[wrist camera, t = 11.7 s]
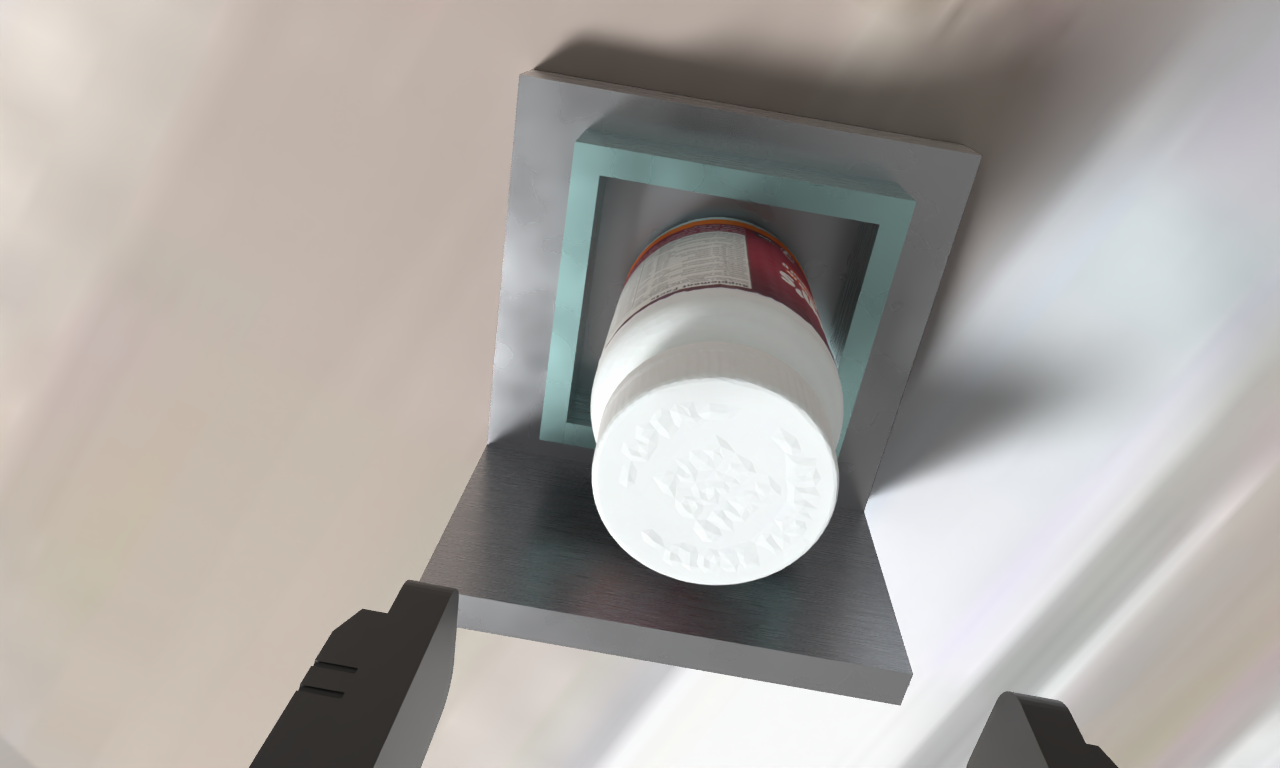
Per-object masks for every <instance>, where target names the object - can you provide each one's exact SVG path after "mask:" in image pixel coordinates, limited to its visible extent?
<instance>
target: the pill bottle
mask: <svg viewBox="0 0 1280 768" xmlns="http://www.w3.org/2000/svg"><path fill="white" fill-rule="evenodd" d="M591 422H592V429H593V433H594V438H595V441H596V448H595V452H594V458H593V464H592V488H593V495H594V500H595V504H596V507H597V510H598V512H599V515H600V517H601V519H602V521H603V523H604V525H605V526H606V528H607V530H608V531H609V533H610V535H611V536H612V537H613V538H614V539H615V541H616V542H617V543H618V544H619V545H620V546H621V547H622V548H623V549H624V550H625V551H626V552H627V553H628V554H629V555H631V556H632V557H633V558H635V559H636V560H638V561H639V562H640V563H642V564H643V565H645V566H647V567H649V568H650V569H652V570H654V571H656V572H659V573H661V574H663V575H666V576H669V577H672V578H675V579H678V580H681V581H685V582H690V583H696V584H705V585H729V584H738V583H744V582H749V581H753V580H756V579H759V578H763V577H766V576H768V575H771V574H773V573H776V572H778V571H780V570H782V569H784V568H785V567H787V566H788V565H790V564H792V563H793V562H794V561H796V560H797V559H798V558H800V557H801V556H802V555H803V554H805V553H806V552H807V551H808V550H809V549H810V548H811V547H812V546H813V545H814V544H815V543H816V541H817V540H818V539H819V537H820V536H821V535H822V533H823V532H824V530H825V528H826V527H827V525H828V523H829V521H830V519H831V517H832V514H833V512H834V509H835V505H836V502H837V496H838V490H839V469H838V462H837V456H836V452H835V450H836V447H837V444H838V441H839V438H840V434H841V430H842V424H843V393H842V387H841V383H840V379H839V375H838V371H837V367H836V364H835V361H834V358H833V355H832V353H831V350H830V348H829V345H828V341H827V339H826V336H825V333H824V331H823V327H822V324H821V320H820V317H819V314H818V311H817V308H816V305H815V301H814V298H813V296H812V293H811V289H810V287H809V284H808V281H807V279H806V276H805V273H804V271H803V269H802V267H801V265H800V264H799V262H798V260H797V259H796V257H795V256H794V254H793V253H792V252H791V251H790V249H789V248H788V247H787V246H786V245H785V244H784V243H783V242H781V241H780V240H779V239H778V238H777V237H775V236H774V235H773V234H771V233H770V232H768V231H767V230H765V229H763V228H761V227H759V226H757V225H754V224H752V223H749V222H746V221H743V220H738V219H734V218H727V217H709V218H702V219H695V220H692V221H688V222H685V223H682V224H680V225H677V226H675V227H673V228H671V229H669V230H667V231H666V232H664V233H663V234H661V235H660V236H658V237H657V238H656V239H655V240H653V241H652V242H651V243H650V244H649V245H648V246H647V247H646V248H645V249H644V250H643V252H642V253H641V254H640V255H639V256H638V258H637V259H636V261H635V263H634V264H633V266H632V268H631V270H630V272H629V274H628V276H627V279H626V281H625V284H624V287H623V289H622V292H621V295H620V298H619V301H618V304H617V307H616V310H615V314H614V317H613V320H612V323H611V326H610V329H609V332H608V335H607V338H606V342H605V345H604V348H603V351H602V354H601V357H600V359H599V363H598V367H597V371H596V374H595V378H594V383H593V388H592V394H591Z"/></svg>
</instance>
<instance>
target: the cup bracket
mask: <svg viewBox="0 0 1280 768" xmlns="http://www.w3.org/2000/svg"><path fill="white" fill-rule="evenodd" d="M981 158H982V155H980V154H978V153H977V152H975V151H973V150H971V149H970V148H968V147H966V146H964V145H961V144H955V143H949V142H944V141H938V140H932V139H927V138H921V137H915V136H910V135H904V134H898V133H892V132H887V131H881V130H875V129H870V128H864V127H858V126H853V125H847V124H841V123H835V122H830V121H824V120H818V119H813V118H807V117H801V116H795V115H790V114H784V113H778V112H773V111H767V110H761V109H756V108H750V107H744V106H738V105H733V104H727V103H721V102H716V101H710V100H704V99H699V98H693V97H687V96H681V95H676V94H670V93H664V92H659V91H653V90H647V89H642V88H636V87H630V86H624V85H619V84H613V83H607V82H602V81H596V80H590V79H585V78H579V77H573V76H567V75H562V74H556V73H550V72H545V71H539V70H533V69H532V70H530V71H527V72H525V73H522V74H520V75H519V85H518V97H517V108H516V120H515V131H514V142H513V154H512V165H511V176H510V188H509V199H508V211H507V222H506V233H505V245H504V256H503V268H502V279H501V290H500V302H499V313H498V324H497V336H496V347H495V359H494V370H493V381H492V393H491V404H490V415H489V427H488V438H487V446H486V448H485V450H484V452H483V454H482V456H481V458H480V460H479V462H478V464H477V466H476V468H475V470H474V472H473V474H472V476H471V478H470V480H469V482H468V484H467V486H466V488H465V490H464V492H463V494H462V496H461V498H460V500H459V502H458V504H457V507H456V509H455V511H454V513H453V515H452V517H451V519H450V521H449V523H448V525H447V527H446V529H445V531H444V533H443V535H442V537H441V539H440V541H439V543H438V545H437V547H436V549H435V551H434V553H433V555H432V557H431V559H430V561H429V563H428V565H427V567H426V569H425V571H424V573H423V575H422V577H421V579H420V581H419V582H424V583H429V584H435V585H440V586H446V587H451V588H457V589H458V591H459V604H458V616H457V627H458V628H464V629H469V630H475V631H481V632H486V633H492V634H498V635H503V636H509V637H515V638H520V639H526V640H532V641H538V642H543V643H549V644H555V645H560V646H566V647H572V648H577V649H583V650H589V651H594V652H600V653H606V654H611V655H617V656H623V657H628V658H634V659H640V660H645V661H651V662H657V663H662V664H668V665H674V666H679V667H685V668H691V669H696V670H702V671H708V672H713V673H719V674H725V675H730V676H736V677H742V678H748V679H753V680H759V681H765V682H770V683H776V684H782V685H787V686H793V687H799V688H804V689H810V690H816V691H821V692H827V693H833V694H838V695H844V696H850V697H855V698H861V699H867V700H872V701H878V702H884V703H889V704H895V705H901V703H902V700H903V698H904V695H905V693H906V690H907V688H908V685H909V683H910V680H911V678H912V676H913V673H912V669H911V666H910V663H909V659H908V656H907V653H906V650H905V646H904V643H903V640H902V636H901V633H900V630H899V626H898V623H897V620H896V616H895V613H894V610H893V607H892V603H891V600H890V597H889V593H888V590H887V587H886V583H885V580H884V577H883V573H882V570H881V567H880V563H879V560H878V557H877V554H876V550H875V547H874V544H873V540H872V537H871V534H870V530H869V527H868V524H867V520H866V517H865V514H864V510H865V507H866V504H867V501H868V498H869V495H870V492H871V489H872V486H873V483H874V480H875V477H876V474H877V471H878V468H879V465H880V462H881V459H882V456H883V453H884V450H885V446H886V443H887V440H888V437H889V434H890V431H891V428H892V425H893V422H894V419H895V416H896V413H897V410H898V407H899V404H900V401H901V398H902V395H903V392H904V389H905V386H906V383H907V380H908V377H909V374H910V371H911V368H912V365H913V362H914V359H915V356H916V353H917V350H918V347H919V344H920V341H921V338H922V335H923V332H924V329H925V326H926V323H927V320H928V317H929V314H930V311H931V308H932V305H933V302H934V299H935V296H936V293H937V290H938V287H939V284H940V281H941V278H942V275H943V272H944V269H945V266H946V263H947V260H948V257H949V254H950V251H951V248H952V245H953V242H954V239H955V236H956V233H957V230H958V227H959V224H960V221H961V218H962V215H963V212H964V209H965V206H966V203H967V200H968V197H969V194H970V191H971V188H972V185H973V182H974V179H975V176H976V173H977V170H978V167H979V164H980V161H981ZM709 217H727V218H734V219H738V220H743V221H746V222H749V223H752V224H754V225H757V226H759V227H761V228H763V229H765V230H767V231H768V232H770V233H771V234H773V235H774V236H775V237H777V238H778V239H779V240H780V241H781V242H783V243H784V244H785V245H786V246H787V247H788V248H789V249H790V251H791V252H792V253H793V254H794V256H795V257H796V259H797V260H798V262H799V264H800V265H801V267H802V269H803V271H804V273H805V276H806V279H807V281H808V284H809V287H810V289H811V293H812V296H813V298H814V301H815V305H816V308H817V311H818V314H819V317H820V320H821V324H822V327H823V331H824V333H825V336H826V339H827V341H828V345H829V348H830V350H831V353H832V355H833V358H834V361H835V364H836V367H837V371H838V375H839V379H840V383H841V387H842V393H843V424H842V430H841V434H840V438H839V441H838V444H837V447H836V450H835V452H836V456H837V462H838V469H839V490H838V496H837V502H836V505H835V509H834V512H833V514H832V517H831V519H830V521H829V523H828V525H827V527H826V528H825V530H824V532H823V533H822V535H821V536H820V537H819V539H818V540H817V541H816V543H815V544H814V545H813V546H812V547H811V548H810V549H809V550H808V551H807V552H806V553H805V554H803V555H802V556H801V557H800V558H798V559H797V560H796V561H794V562H793V563H792V564H790V565H788V566H787V567H785V568H784V569H782V570H780V571H778V572H776V573H773V574H771V575H768V576H766V577H763V578H759V579H756V580H753V581H749V582H744V583H738V584H729V585H705V584H696V583H690V582H685V581H681V580H678V579H675V578H672V577H669V576H666V575H663V574H661V573H659V572H656V571H654V570H652V569H650V568H649V567H647V566H645V565H643V564H642V563H640V562H639V561H638V560H636V559H635V558H633V557H632V556H631V555H629V554H628V553H627V552H626V551H625V550H624V549H623V548H622V547H621V546H620V545H619V544H618V543H617V542H616V541H615V539H614V538H613V537H612V536H611V535H610V533H609V531H608V530H607V528H606V526H605V525H604V523H603V521H602V519H601V517H600V515H599V512H598V510H597V507H596V504H595V500H594V495H593V488H592V464H593V458H594V452H595V448H596V441H595V438H594V433H593V429H592V422H591V394H592V388H593V383H594V378H595V374H596V371H597V367H598V363H599V359H600V357H601V354H602V351H603V348H604V345H605V342H606V338H607V335H608V332H609V329H610V326H611V323H612V320H613V317H614V314H615V310H616V307H617V304H618V301H619V298H620V295H621V292H622V289H623V287H624V284H625V281H626V279H627V276H628V274H629V272H630V270H631V268H632V266H633V264H634V263H635V261H636V259H637V258H638V256H639V255H640V254H641V253H642V252H643V250H644V249H645V248H646V247H647V246H648V245H649V244H650V243H651V242H652V241H653V240H655V239H656V238H657V237H658V236H660V235H661V234H663V233H664V232H666V231H667V230H669V229H671V228H673V227H675V226H677V225H680V224H682V223H685V222H688V221H692V220H695V219H702V218H709Z"/></svg>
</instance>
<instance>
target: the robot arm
mask: <svg viewBox="0 0 1280 768" xmlns="http://www.w3.org/2000/svg"><path fill="white" fill-rule="evenodd" d="M458 604H459V591H458V589H457V588H451V587H446V586H440V585H435V584H429V583H424V582H419V581H413V580H407V581H406V582H405V583H404V585H403V587H402V588H401V590H400V592H399V594H398V596H397V597H396V599H395V601H394V603H393V605H392V607H391V608H390V610H389V612H388V613H382V612H377V611H371V610H366V609H362V610H360V611H359V612H358V613H356V614H355V615H354V616H352V617H351V618H350V619H348V620H347V621H346V622H344V623H343V624H342V625H341V626H339V627H338V628H337V629H335V630H334V631H333V632H332V633H331V635H330V637H329V638H328V640H327V642H326V643H325V645H324V646H323V648H322V650H321V651H320V653H319V655H318V656H317V658H316V659H315V663H314V666H311V668H310V669H309V671H308V672H307V674H306V676H305V677H304V679H303V681H302V682H301V684H300V688H299V690H298V691H296V692H295V694H294V695H293V697H292V698H291V700H290V702H289V703H288V705H287V707H286V708H285V710H284V711H283V713H282V715H281V716H280V718H279V720H278V721H277V723H276V724H275V726H274V728H273V729H272V731H271V733H270V734H269V736H268V737H267V739H266V741H265V742H264V744H263V746H262V747H261V749H260V750H259V752H258V754H257V755H256V757H255V759H254V760H253V762H252V763H251V765H250V767H249V768H421V766H422V763H423V760H424V758H425V755H426V753H427V750H428V748H429V745H430V742H431V740H432V737H433V735H434V732H435V730H436V727H437V724H438V722H439V719H440V717H441V714H442V712H443V709H444V706H445V703H446V699H447V696H448V692H449V688H450V683H451V679H452V673H453V665H454V653H455V641H456V629H457V616H458ZM966 768H1118V767H1117V766H1116V765H1115V764H1114V763H1113V761H1112V760H1111V759H1110V758H1109V757H1108V756H1107V755H1106V754H1105V753H1104V752H1103V751H1102V750H1101V748H1100V747H1099V746H1095V745H1090V744H1086V743H1085V741H1084V739H1083V737H1082V735H1081V733H1080V731H1079V729H1078V727H1077V725H1076V723H1075V721H1074V719H1073V717H1072V715H1071V713H1070V711H1069V710H1068V708H1067V707H1066V705H1065V704H1063V703H1062V702H1061V701H1058V700H1053V699H1047V698H1042V697H1036V696H1031V695H1025V694H1020V693H1015V692H1004V693H1003V694H1001V695H1000V697H999V698H998V700H997V701H996V703H995V706H994V708H993V710H992V712H991V714H990V716H989V718H988V721H987V723H986V725H985V727H984V729H983V731H982V733H981V736H980V738H979V740H978V742H977V744H976V746H975V748H974V751H973V753H972V755H971V757H970V759H969V761H968V764H967V767H966Z"/></svg>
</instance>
